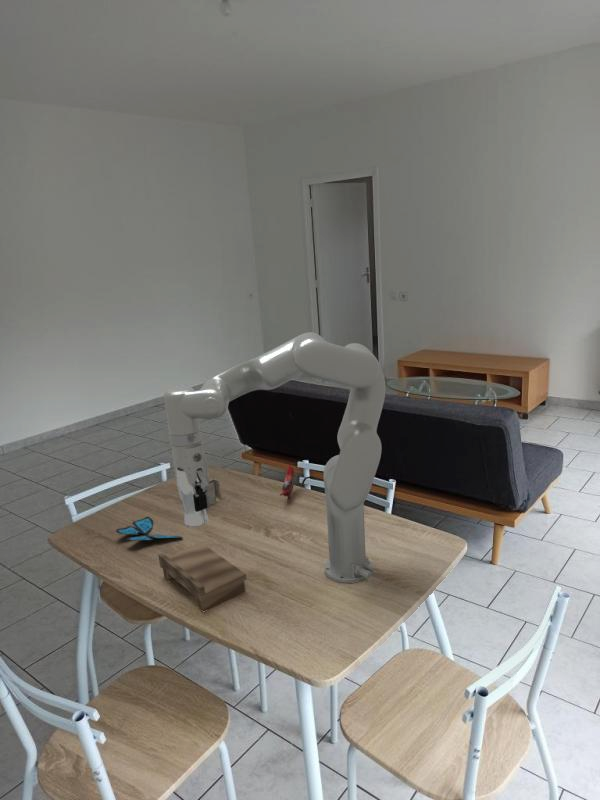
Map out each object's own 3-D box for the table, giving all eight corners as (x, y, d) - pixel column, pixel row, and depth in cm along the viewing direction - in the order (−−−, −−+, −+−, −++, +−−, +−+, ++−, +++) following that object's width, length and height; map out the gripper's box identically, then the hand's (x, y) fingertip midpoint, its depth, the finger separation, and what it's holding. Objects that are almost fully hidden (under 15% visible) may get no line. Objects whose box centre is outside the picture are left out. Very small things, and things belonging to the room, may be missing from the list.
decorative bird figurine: (297, 489, 204) (295, 463, 202) (285, 512, 188) (283, 484, 185) (289, 489, 205) (287, 462, 202) (277, 512, 188) (274, 484, 186)
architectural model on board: (196, 514, 193) (193, 487, 190) (190, 511, 195) (187, 484, 192) (222, 501, 201) (219, 475, 198) (216, 499, 203) (213, 473, 200)
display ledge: (247, 591, 147) (245, 567, 145) (203, 614, 140) (199, 588, 138) (203, 558, 164) (201, 536, 162) (161, 577, 156) (158, 554, 154)
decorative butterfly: (108, 533, 181) (107, 524, 180) (150, 519, 190) (149, 511, 189) (141, 559, 166) (140, 550, 166) (184, 543, 176) (184, 534, 175)
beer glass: (178, 527, 144) (170, 471, 140) (187, 514, 151) (180, 460, 147) (205, 528, 143) (198, 471, 139) (213, 515, 150) (207, 460, 146)
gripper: (217, 441, 137) (225, 511, 141) (182, 426, 150) (190, 490, 155) (189, 450, 132) (198, 521, 137) (155, 434, 145) (165, 499, 150)
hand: (194, 504), depth 146 cm, fingers closed on beer glass, 6 cm apart
